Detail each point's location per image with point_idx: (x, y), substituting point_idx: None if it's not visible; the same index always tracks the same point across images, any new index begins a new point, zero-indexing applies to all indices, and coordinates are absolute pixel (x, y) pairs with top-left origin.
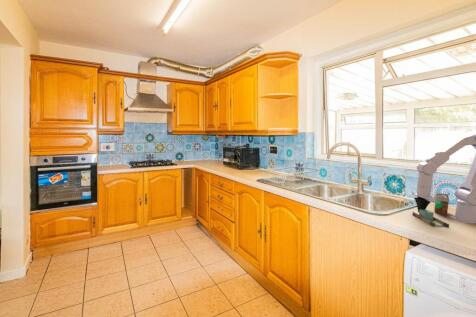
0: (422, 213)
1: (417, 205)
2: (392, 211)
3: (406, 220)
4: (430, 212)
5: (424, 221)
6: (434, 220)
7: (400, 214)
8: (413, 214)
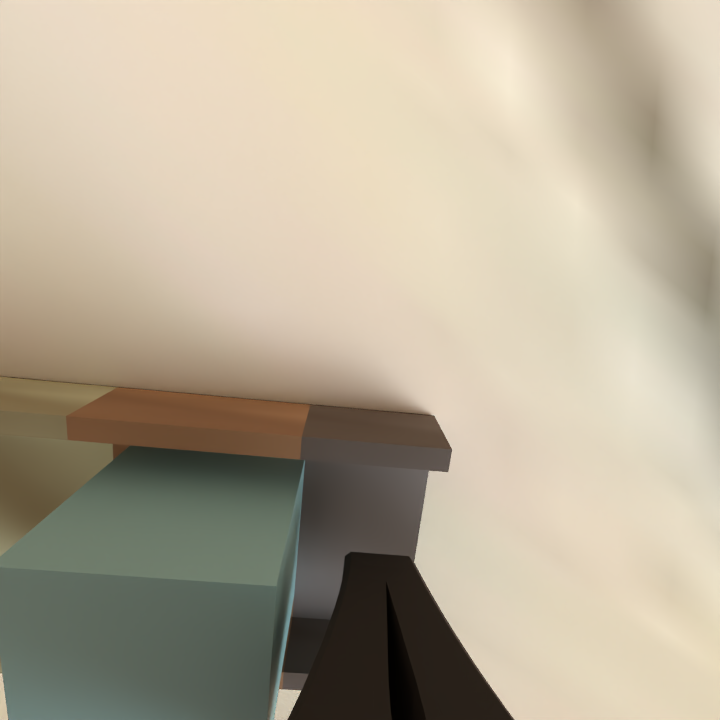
0: (143, 516)
1: (462, 702)
2: (717, 115)
3: (61, 9)
4: (15, 698)
5: (24, 383)
6: None
7: (495, 178)
8: (405, 426)
